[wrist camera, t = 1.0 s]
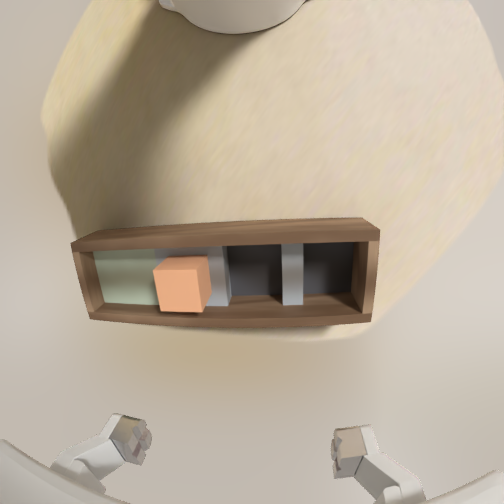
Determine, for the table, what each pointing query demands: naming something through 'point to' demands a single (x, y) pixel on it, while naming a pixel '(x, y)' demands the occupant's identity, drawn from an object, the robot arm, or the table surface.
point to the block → (183, 283)
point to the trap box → (237, 272)
